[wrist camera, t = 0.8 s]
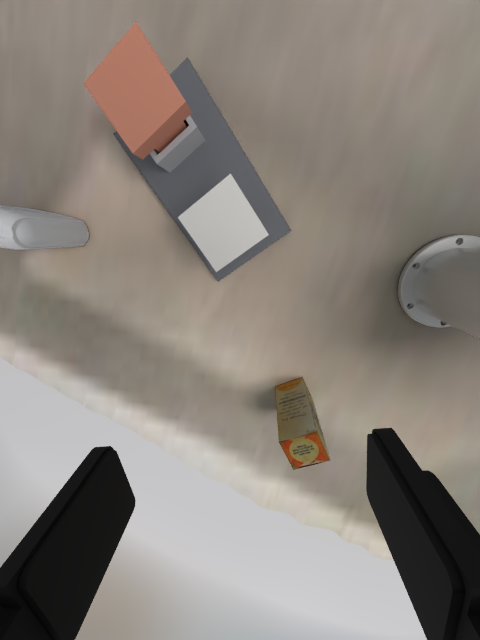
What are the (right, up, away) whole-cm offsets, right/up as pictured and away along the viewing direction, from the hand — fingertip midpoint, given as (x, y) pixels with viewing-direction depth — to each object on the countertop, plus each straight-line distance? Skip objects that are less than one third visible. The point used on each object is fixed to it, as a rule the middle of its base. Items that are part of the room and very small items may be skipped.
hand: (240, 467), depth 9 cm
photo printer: (-27, +19, +28) cm, 44 cm away
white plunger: (-1, +17, +20) cm, 26 cm away
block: (-4, +23, +24) cm, 34 cm away
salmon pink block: (-9, +27, +18) cm, 33 cm away
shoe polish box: (+9, -7, +33) cm, 35 cm away
